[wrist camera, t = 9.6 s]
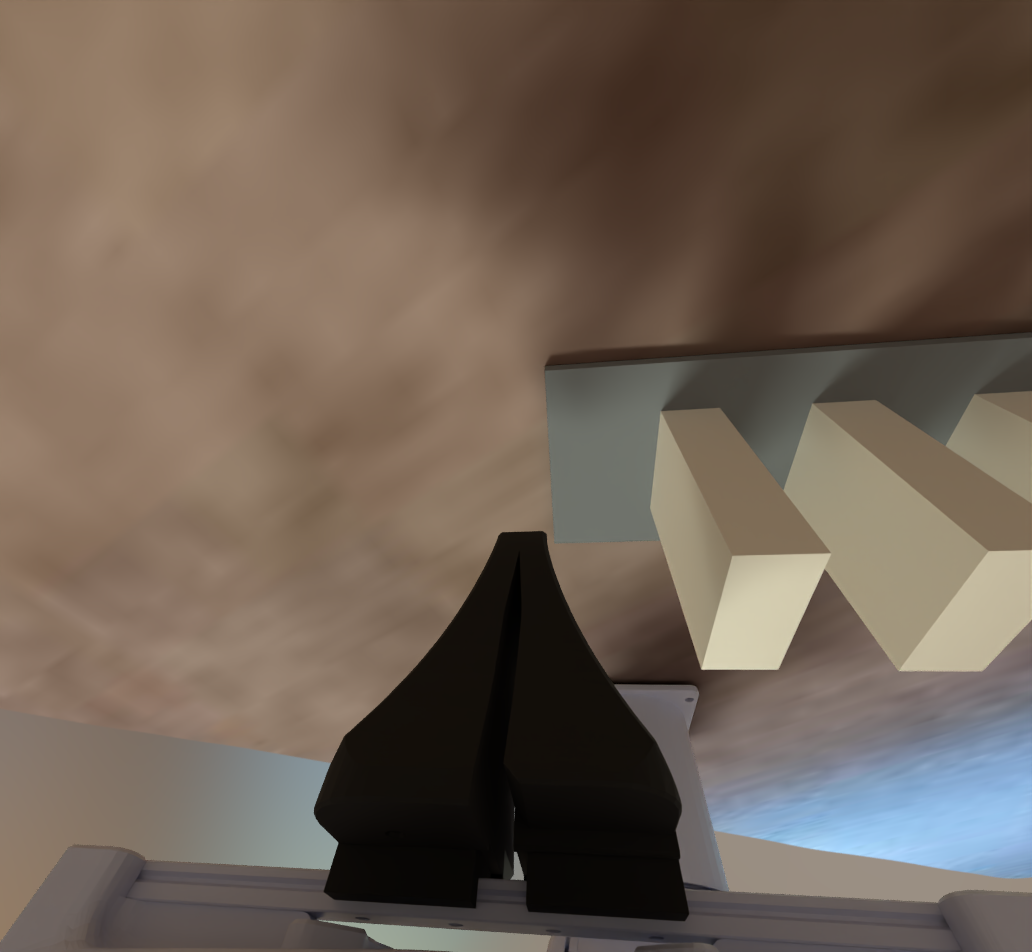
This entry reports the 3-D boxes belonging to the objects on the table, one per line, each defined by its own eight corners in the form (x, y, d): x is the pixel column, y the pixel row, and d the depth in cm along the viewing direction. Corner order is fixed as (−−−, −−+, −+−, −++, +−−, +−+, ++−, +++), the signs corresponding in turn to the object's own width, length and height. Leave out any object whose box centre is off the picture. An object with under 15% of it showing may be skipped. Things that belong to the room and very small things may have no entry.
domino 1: (700, 506, 17) (778, 669, 11) (650, 508, 17) (701, 669, 12) (719, 407, 15) (831, 553, 9) (660, 411, 15) (732, 556, 9)
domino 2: (832, 502, 17) (982, 671, 11) (778, 504, 17) (898, 670, 11) (875, 399, 14) (1099, 549, 8) (812, 403, 14) (988, 550, 9)
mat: (1342, 513, 16) (1360, 521, 16) (554, 536, 19) (554, 543, 19) (1638, 289, 12) (1675, 293, 11) (544, 366, 15) (545, 370, 14)
